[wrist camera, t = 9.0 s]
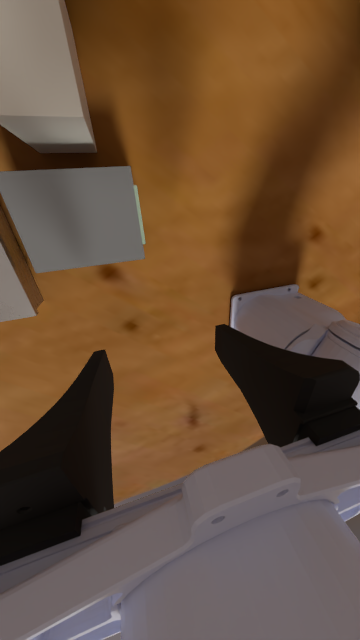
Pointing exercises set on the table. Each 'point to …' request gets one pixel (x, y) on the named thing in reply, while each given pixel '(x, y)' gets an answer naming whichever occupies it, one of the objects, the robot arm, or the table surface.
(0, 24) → the block
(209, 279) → the table surface
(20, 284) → the din rail
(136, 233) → the mounted modules
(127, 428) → the table surface
